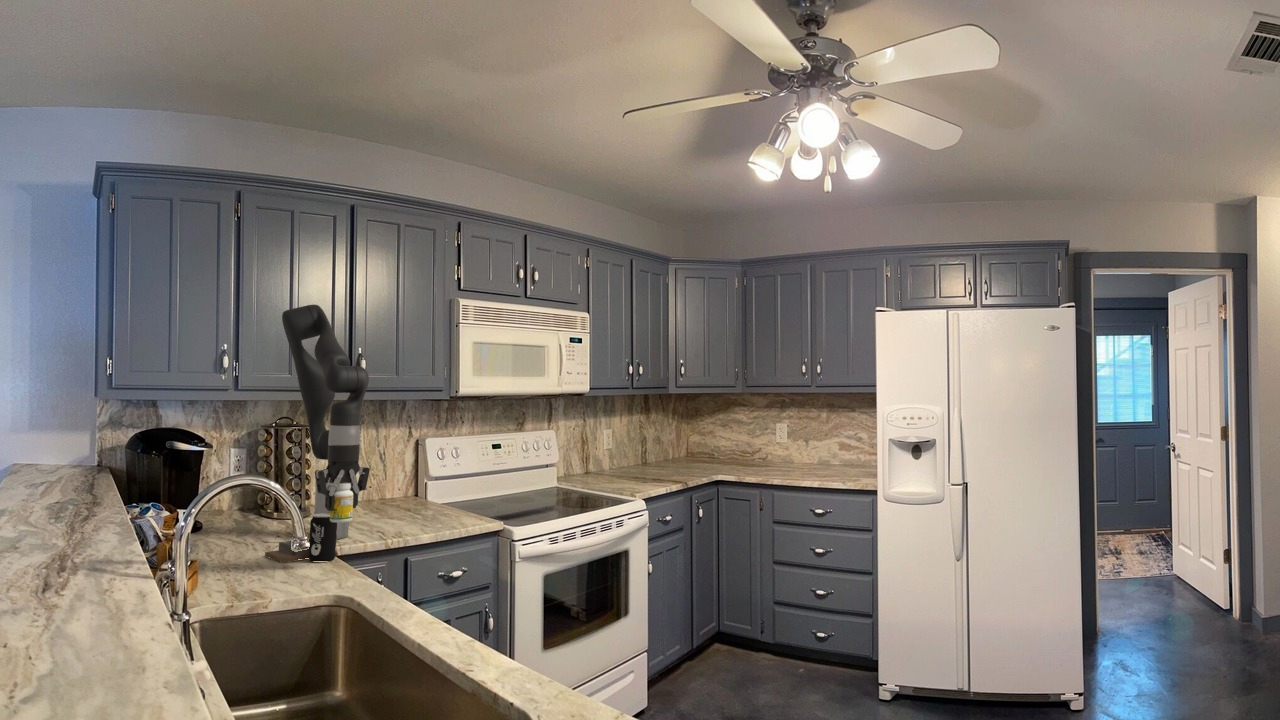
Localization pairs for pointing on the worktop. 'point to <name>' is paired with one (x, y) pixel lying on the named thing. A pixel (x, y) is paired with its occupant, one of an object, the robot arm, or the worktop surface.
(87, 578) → the worktop surface
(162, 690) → the worktop surface
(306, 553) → the bottle holder
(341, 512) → the supplement bottle
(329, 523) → the beverage can
